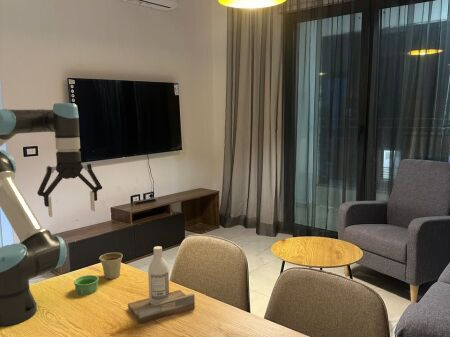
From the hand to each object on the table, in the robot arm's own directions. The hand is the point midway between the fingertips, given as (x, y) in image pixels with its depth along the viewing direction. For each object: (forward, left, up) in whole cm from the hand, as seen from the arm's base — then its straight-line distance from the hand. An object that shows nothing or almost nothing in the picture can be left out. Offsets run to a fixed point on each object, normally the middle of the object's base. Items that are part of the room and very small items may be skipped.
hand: (72, 213), depth 134 cm
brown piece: (+15, +25, -35) cm, 45 cm away
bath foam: (+14, +25, -33) cm, 43 cm away
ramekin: (-14, +6, -35) cm, 38 cm away
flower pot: (-22, +18, -35) cm, 45 cm away
